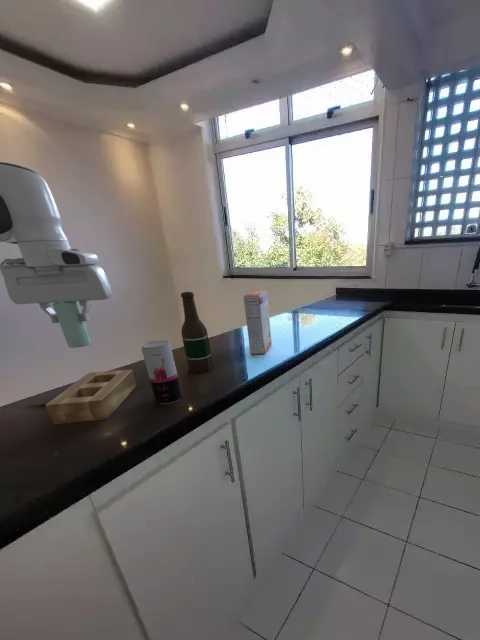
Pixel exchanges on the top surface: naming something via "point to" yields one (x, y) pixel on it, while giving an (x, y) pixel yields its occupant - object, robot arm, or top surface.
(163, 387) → the beverage can
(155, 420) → the top surface
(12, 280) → the robot arm
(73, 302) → the bottle
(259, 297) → the cracker box
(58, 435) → the top surface
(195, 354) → the beer bottle
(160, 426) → the top surface
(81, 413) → the bottle stand
